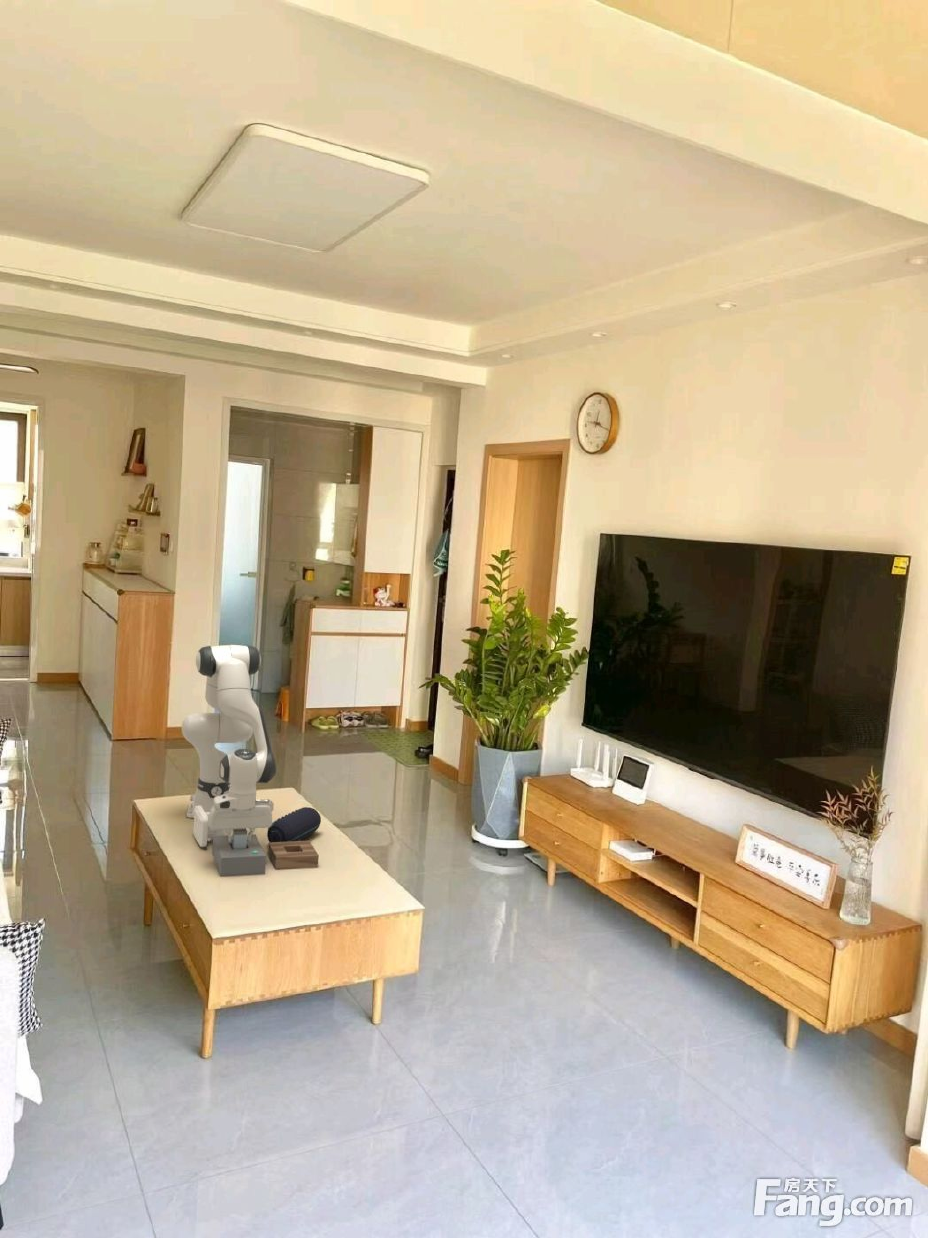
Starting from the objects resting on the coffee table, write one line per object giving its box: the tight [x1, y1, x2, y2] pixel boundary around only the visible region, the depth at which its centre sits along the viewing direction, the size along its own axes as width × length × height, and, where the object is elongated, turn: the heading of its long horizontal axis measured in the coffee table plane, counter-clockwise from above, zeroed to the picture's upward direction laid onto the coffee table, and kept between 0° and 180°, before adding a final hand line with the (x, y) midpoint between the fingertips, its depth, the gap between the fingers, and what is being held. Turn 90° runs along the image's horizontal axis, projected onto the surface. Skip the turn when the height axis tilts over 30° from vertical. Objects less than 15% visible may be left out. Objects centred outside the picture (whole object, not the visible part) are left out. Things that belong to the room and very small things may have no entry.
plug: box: [232, 829, 248, 849], centre depth 314 cm, size 4×4×10 cm
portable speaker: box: [266, 806, 322, 843], centre depth 340 cm, size 25×10×10 cm, turn 159°
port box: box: [211, 833, 267, 877], centre depth 315 cm, size 20×14×6 cm
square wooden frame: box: [267, 840, 319, 870], centre depth 322 cm, size 14×14×4 cm
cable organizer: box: [192, 806, 232, 848], centre depth 331 cm, size 15×11×12 cm
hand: (239, 841), depth 314 cm, fingers closed on plug, 4 cm apart
